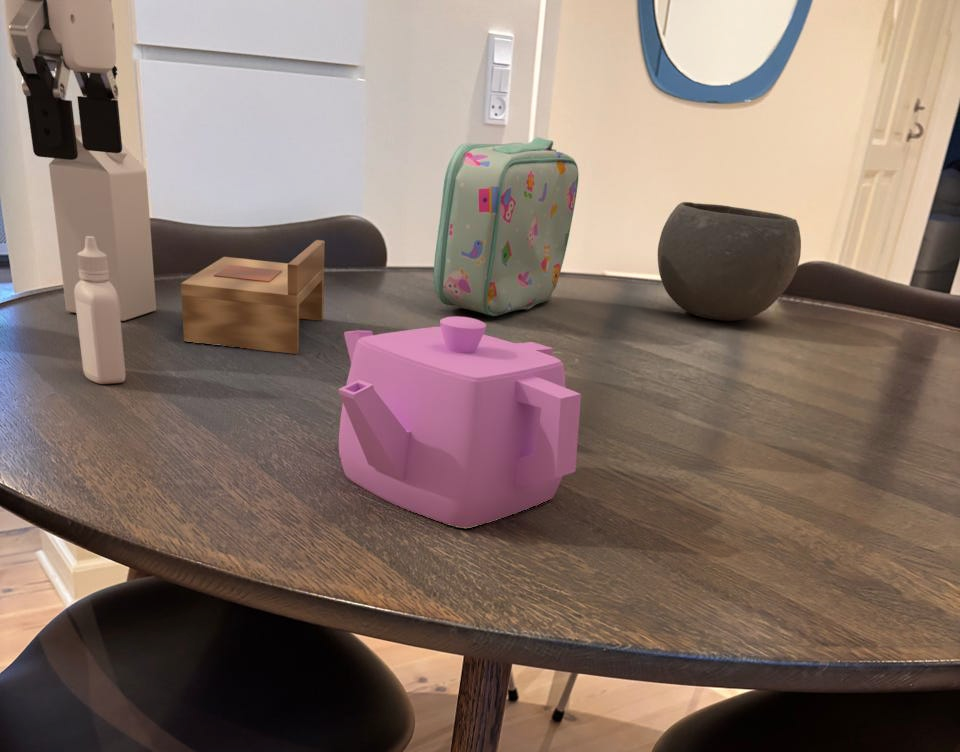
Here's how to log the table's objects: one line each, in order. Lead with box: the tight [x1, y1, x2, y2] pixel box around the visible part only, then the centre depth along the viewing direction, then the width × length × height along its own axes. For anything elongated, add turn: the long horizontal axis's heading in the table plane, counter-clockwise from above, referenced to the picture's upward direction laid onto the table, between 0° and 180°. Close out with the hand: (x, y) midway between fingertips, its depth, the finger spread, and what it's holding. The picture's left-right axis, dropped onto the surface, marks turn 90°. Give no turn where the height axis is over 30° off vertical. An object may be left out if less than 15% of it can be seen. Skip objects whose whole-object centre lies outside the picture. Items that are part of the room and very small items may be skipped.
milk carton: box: [48, 124, 157, 322], centre depth 102 cm, size 7×7×19 cm
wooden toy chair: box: [180, 239, 325, 355], centre depth 105 cm, size 12×18×9 cm, turn 179°
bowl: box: [657, 201, 802, 322], centre depth 138 cm, size 20×20×15 cm
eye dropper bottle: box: [74, 236, 127, 385], centre depth 83 cm, size 4×6×12 cm
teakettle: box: [338, 316, 582, 527], centre depth 68 cm, size 17×17×12 cm
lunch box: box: [433, 136, 579, 317], centre depth 128 cm, size 27×10×21 cm, turn 154°
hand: (80, 154), depth 76 cm, fingers open, 9 cm apart
